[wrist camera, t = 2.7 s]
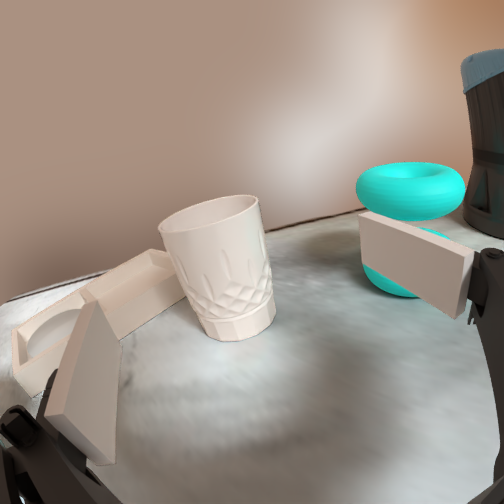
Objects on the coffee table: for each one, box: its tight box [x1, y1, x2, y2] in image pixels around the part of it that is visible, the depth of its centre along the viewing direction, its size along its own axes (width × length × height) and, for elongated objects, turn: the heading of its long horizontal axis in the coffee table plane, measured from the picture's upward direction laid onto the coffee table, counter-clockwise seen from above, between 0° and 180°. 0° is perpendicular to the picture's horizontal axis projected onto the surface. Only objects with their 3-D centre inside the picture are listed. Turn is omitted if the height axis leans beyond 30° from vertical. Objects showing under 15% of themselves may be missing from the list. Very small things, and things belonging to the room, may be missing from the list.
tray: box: [12, 249, 186, 398], centre depth 29 cm, size 24×12×3 cm, turn 138°
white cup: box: [158, 195, 276, 342], centre depth 23 cm, size 8×8×10 cm
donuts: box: [356, 162, 465, 297], centre depth 22 cm, size 10×10×10 cm
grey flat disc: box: [27, 309, 81, 358], centre depth 25 cm, size 9×9×1 cm
